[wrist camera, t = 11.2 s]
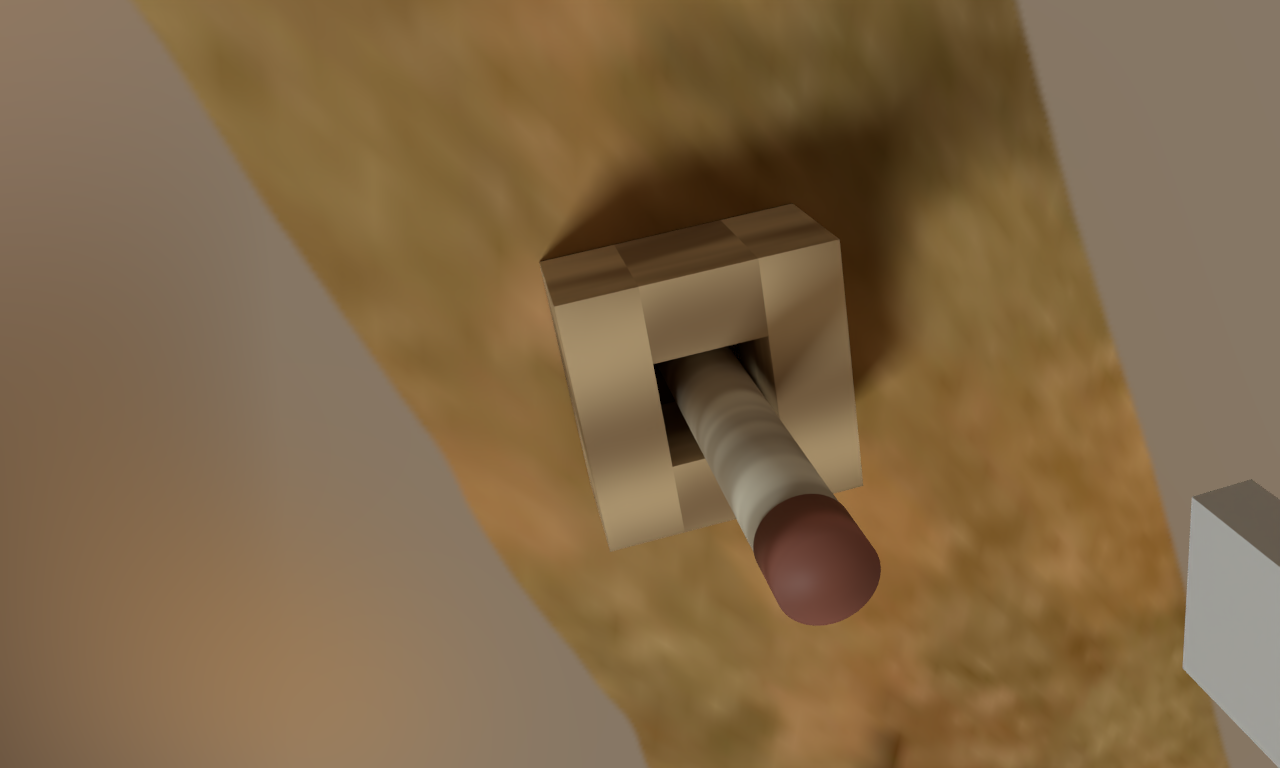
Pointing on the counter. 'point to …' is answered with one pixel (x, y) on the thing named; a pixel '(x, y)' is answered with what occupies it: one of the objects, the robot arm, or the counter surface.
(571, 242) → the counter surface
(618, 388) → the bead block
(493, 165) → the counter surface
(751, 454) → the brown-tipped rod
